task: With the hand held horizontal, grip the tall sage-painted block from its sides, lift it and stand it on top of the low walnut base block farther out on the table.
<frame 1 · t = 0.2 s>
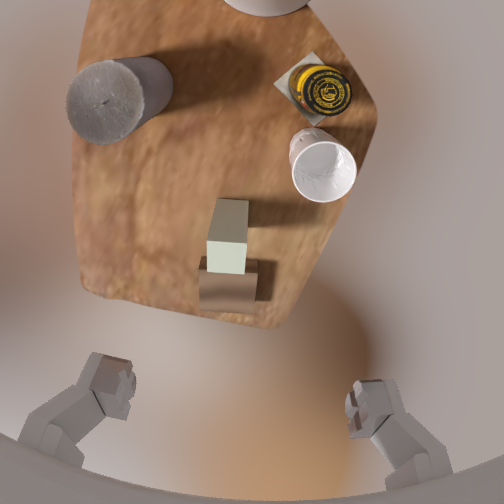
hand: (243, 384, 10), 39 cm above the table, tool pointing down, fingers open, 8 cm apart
sage block: (232, 213, 51), on the table
white cup: (311, 148, 44), on the table
pillar candle: (143, 87, 39), on the table
walnut base: (228, 278, 59), on the table
condiment: (313, 88, 39), on the table
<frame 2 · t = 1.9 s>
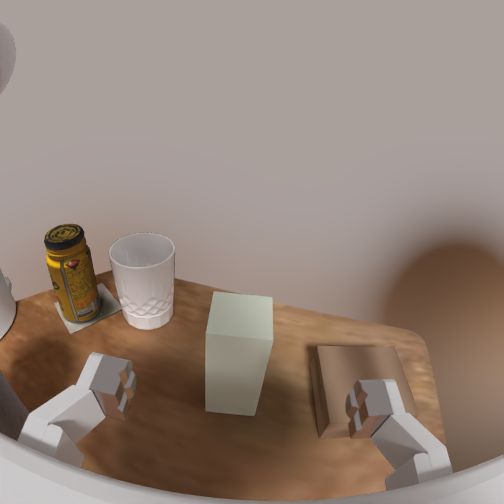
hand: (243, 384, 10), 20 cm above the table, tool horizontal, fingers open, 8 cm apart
sage block: (231, 394, 31), on the table
white cup: (148, 313, 40), on the table
pillar candle: (21, 461, 19), on the table
walnut base: (354, 400, 32), on the table
condiment: (87, 308, 39), on the table
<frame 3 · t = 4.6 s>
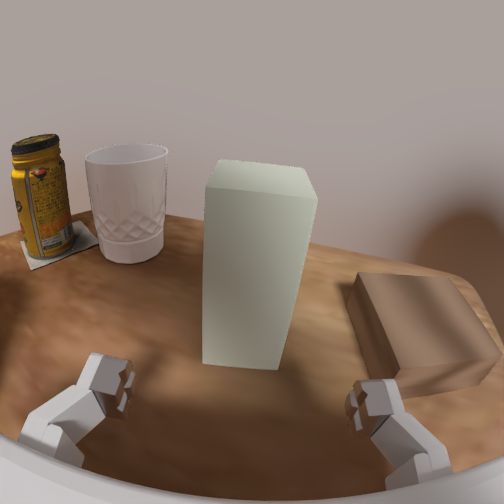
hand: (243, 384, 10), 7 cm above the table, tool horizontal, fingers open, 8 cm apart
sage block: (242, 340, 22), on the table
white cup: (132, 248, 31), on the table
walnut base: (411, 349, 23), on the table
condiment: (58, 245, 30), on the table
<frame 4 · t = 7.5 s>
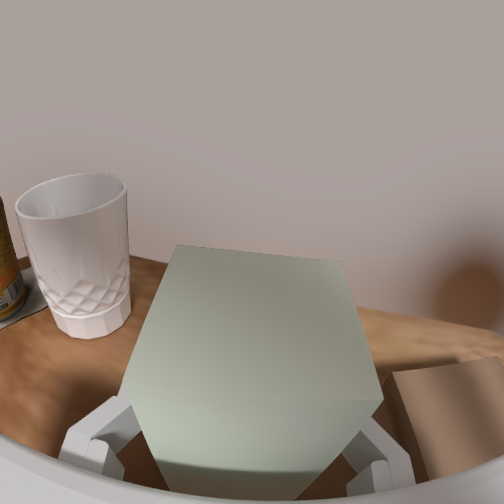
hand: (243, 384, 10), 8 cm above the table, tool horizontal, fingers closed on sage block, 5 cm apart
sage block: (231, 471, 14), on the table, touching gripper
white cup: (92, 311, 23), on the table
walnut base: (446, 454, 14), on the table
condiment: (9, 301, 22), on the table
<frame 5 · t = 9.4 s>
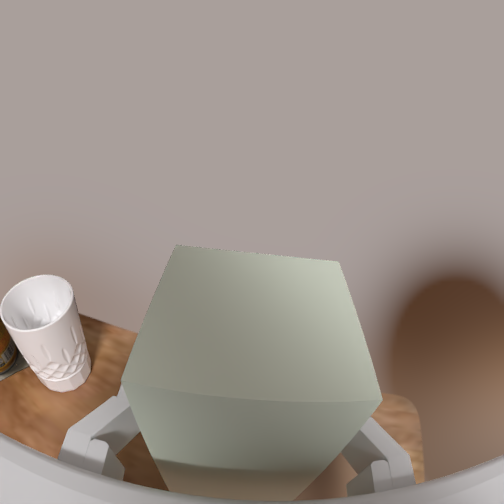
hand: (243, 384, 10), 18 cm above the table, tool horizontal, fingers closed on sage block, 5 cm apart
sage block: (230, 471, 14), point 11 cm above the table, touching gripper
white cup: (65, 369, 28), on the table
walnut base: (309, 503, 20), on the table
condiment: (5, 356, 27), on the table
when the fingers open (13 cm above the table, at t = 11.7 s): sage block drops 1 cm, resting on walnut base.
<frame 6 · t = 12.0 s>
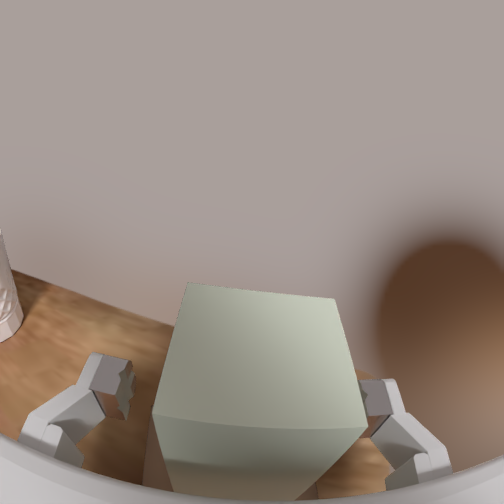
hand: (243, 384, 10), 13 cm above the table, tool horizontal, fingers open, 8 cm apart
sage block: (228, 478, 14), point 4 cm above the table, touching walnut base
walnut base: (227, 493, 16), on the table, touching sage block
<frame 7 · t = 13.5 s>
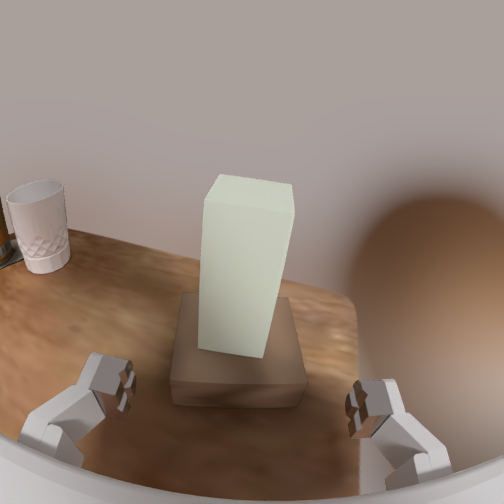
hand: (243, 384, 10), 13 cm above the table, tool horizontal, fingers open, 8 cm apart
sage block: (234, 331, 25), point 4 cm above the table, touching walnut base
white cup: (48, 261, 36), on the table
walnut base: (233, 363, 27), on the table, touching sage block
condiment: (1, 257, 35), on the table
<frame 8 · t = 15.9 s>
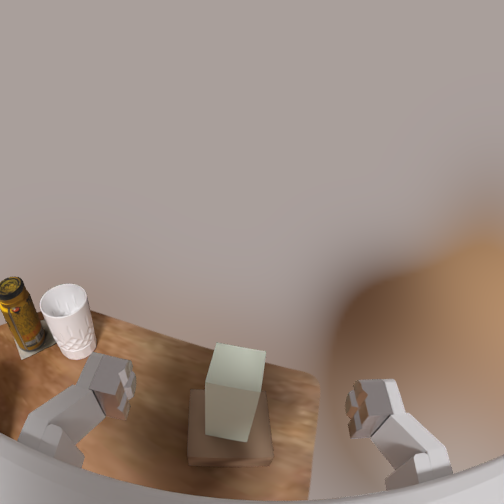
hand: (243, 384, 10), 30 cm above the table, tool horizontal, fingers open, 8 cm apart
sage block: (229, 421, 35), point 4 cm above the table, touching walnut base
white cup: (78, 345, 45), on the table
walnut base: (227, 435, 37), on the table, touching sage block
condiment: (36, 339, 44), on the table
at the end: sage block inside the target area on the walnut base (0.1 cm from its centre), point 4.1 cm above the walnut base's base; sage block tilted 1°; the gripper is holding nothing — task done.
